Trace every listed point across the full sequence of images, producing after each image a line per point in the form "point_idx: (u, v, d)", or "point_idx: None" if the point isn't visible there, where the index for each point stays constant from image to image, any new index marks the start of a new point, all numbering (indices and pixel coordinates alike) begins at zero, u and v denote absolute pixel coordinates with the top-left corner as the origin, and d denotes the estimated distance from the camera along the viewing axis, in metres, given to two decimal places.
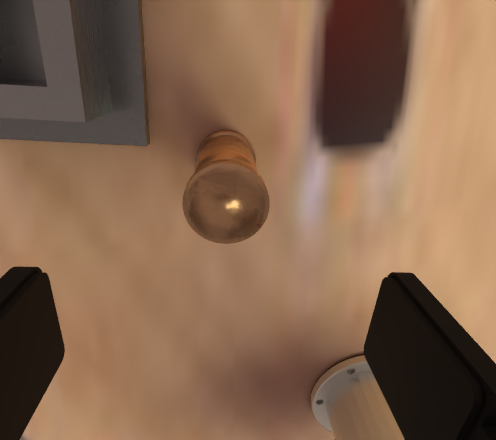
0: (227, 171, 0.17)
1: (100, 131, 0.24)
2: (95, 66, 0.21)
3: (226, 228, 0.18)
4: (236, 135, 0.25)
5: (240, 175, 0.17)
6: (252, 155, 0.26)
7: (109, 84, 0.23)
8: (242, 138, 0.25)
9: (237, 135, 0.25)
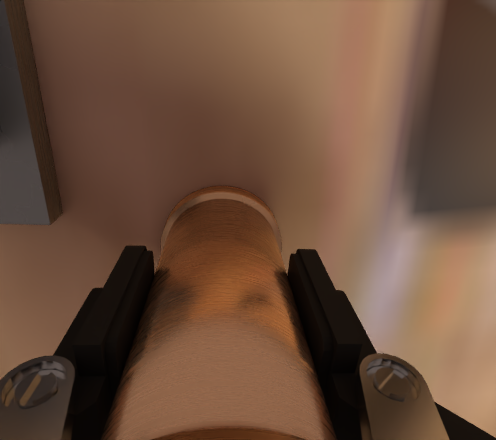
0: None
1: None
2: None
3: None
4: (243, 199, 0.12)
5: None
6: (275, 237, 0.13)
7: None
8: (255, 205, 0.12)
9: (245, 199, 0.12)
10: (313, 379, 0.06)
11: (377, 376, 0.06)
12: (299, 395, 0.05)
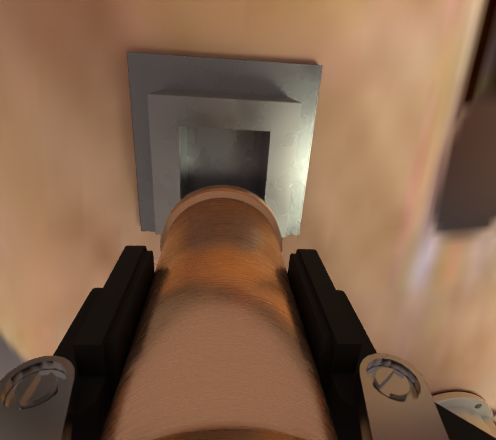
0: None
1: None
2: None
3: None
4: (243, 198, 0.12)
5: None
6: (276, 236, 0.13)
7: None
8: (256, 204, 0.12)
9: (245, 198, 0.12)
10: (314, 379, 0.06)
11: (377, 376, 0.06)
12: (300, 395, 0.05)
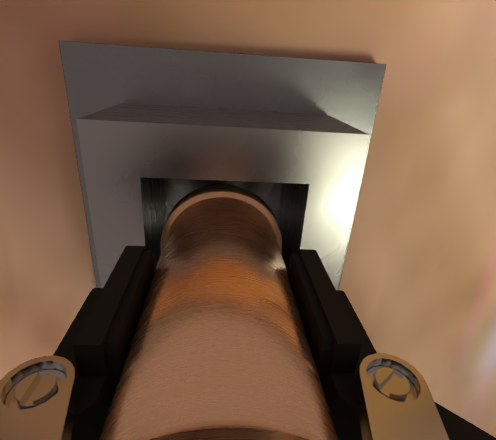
0: None
1: None
2: None
3: None
4: (243, 198, 0.12)
5: None
6: (276, 235, 0.13)
7: None
8: (255, 203, 0.12)
9: (245, 198, 0.12)
10: (314, 378, 0.06)
11: (377, 376, 0.06)
12: (300, 394, 0.05)
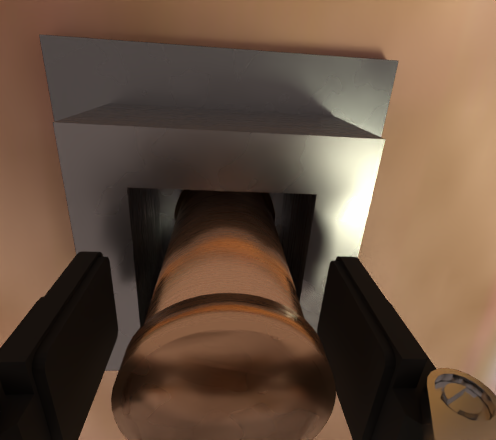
0: (227, 340, 0.06)
1: None
2: None
3: None
4: None
5: (264, 346, 0.06)
6: (270, 209, 0.15)
7: None
8: None
9: None
10: (291, 289, 0.09)
11: (446, 390, 0.06)
12: (280, 290, 0.08)
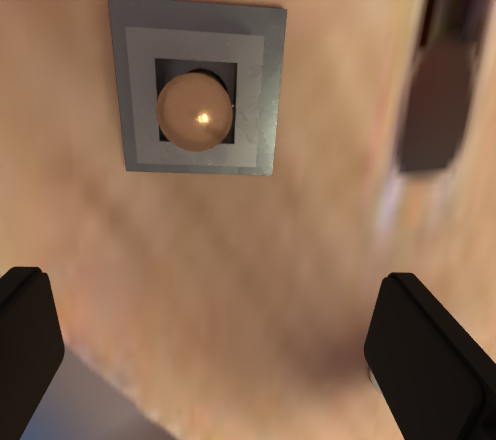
0: (194, 81, 0.19)
1: (239, 165, 0.32)
2: None
3: (196, 136, 0.21)
4: (209, 72, 0.28)
5: (205, 85, 0.20)
6: None
7: None
8: (215, 75, 0.28)
9: (210, 72, 0.28)
10: None
11: None
12: None
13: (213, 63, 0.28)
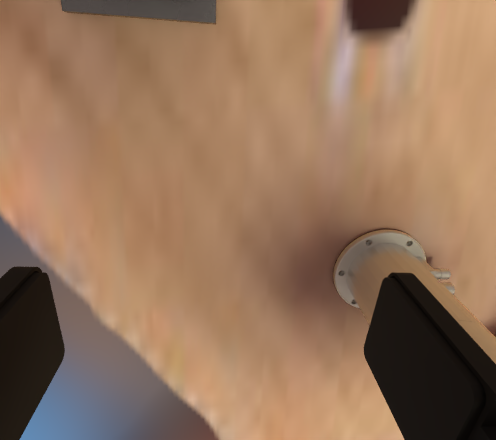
0: None
1: (180, 9, 0.31)
2: None
3: None
4: None
5: None
6: None
7: None
8: None
9: None
10: None
11: None
12: None
13: None
